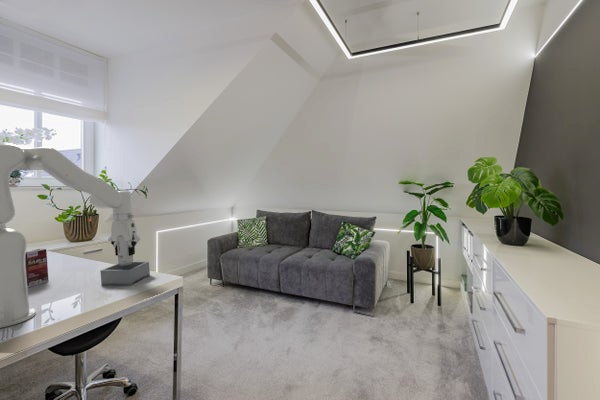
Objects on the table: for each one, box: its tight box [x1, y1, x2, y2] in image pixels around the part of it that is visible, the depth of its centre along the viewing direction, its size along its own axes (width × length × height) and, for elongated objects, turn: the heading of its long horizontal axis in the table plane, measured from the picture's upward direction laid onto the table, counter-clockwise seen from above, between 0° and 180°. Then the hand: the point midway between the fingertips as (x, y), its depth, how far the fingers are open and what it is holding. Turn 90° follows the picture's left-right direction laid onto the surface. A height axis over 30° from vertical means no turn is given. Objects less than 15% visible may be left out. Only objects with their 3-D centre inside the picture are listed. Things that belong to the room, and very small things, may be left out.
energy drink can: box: [117, 235, 134, 265], centre depth 132 cm, size 6×6×15 cm
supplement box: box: [25, 248, 49, 288], centre depth 130 cm, size 9×5×16 cm, turn 168°
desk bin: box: [100, 261, 151, 287], centre depth 132 cm, size 14×14×7 cm
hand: (125, 254), depth 132 cm, fingers closed on energy drink can, 6 cm apart
